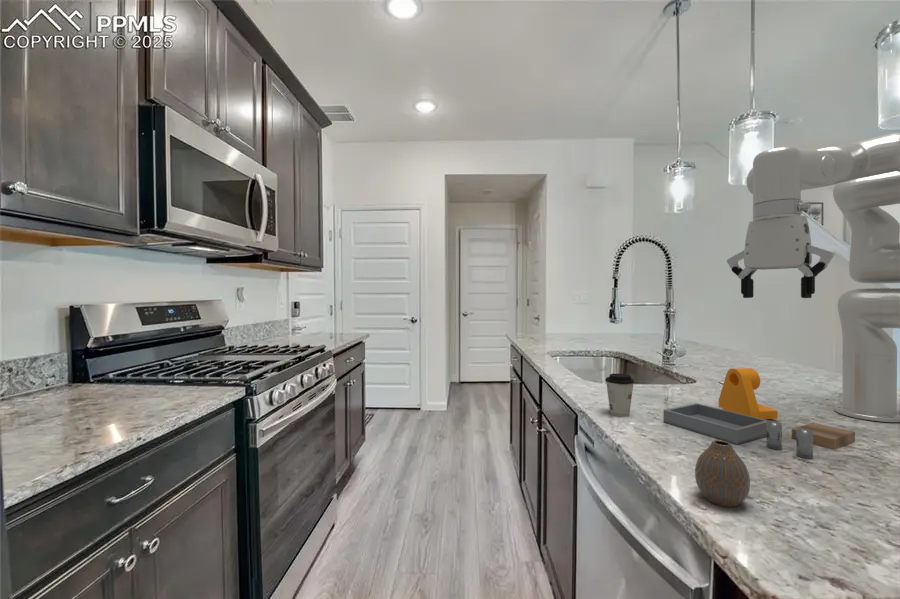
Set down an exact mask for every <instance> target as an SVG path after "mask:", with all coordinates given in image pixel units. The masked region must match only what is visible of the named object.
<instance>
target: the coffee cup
mask: <svg viewBox="0 0 900 599" xmlns="http://www.w3.org/2000/svg"><path fill="white" fill-rule="evenodd" d="M604 381H606V390H607V396H608V397H607V398H608V406H609V413H610V415H612V416H615V417H621V418H622V417H624V418H625V417H629V416H631V415H630V414H631V407H632V406H631V404H632V398H633V390H634V384H635V380H634V379H633V378H632V375H630V374H625V373H610V374H609V376H607V377H606V378H605V380H604Z"/></svg>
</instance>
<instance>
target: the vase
mask: <svg viewBox="0 0 900 599" xmlns="http://www.w3.org/2000/svg"><path fill="white" fill-rule="evenodd" d="M694 478H695V482H696V485H697V488H698V489H699V491H700V493H701V495H703V497H704V498H705V499H707V500H708V501H709V502H710V503H713V504H715V505H717V506H720V507H726V508H734V507H737V506H739V505H741V504H743V502H745V501H746V499H747V498H748V495H749V493H750V491H751V490H750V489H751V478H750V473H749V469H748V468H747V466H746V463H745V462H744V461H743V460H742V458H741V457H740V455H738V453H737V452H736V450H734V447H733V444H732V443H730V442H727V441H723V440H720V439H714V440H712V442H711V443H710V444H709V446H708V447H707V448H705V450H704V451H703V452H702V453H701V454H700V455H699V456H698V458H697V461H696V463H695V468H694Z"/></svg>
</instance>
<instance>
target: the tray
mask: <svg viewBox="0 0 900 599" xmlns="http://www.w3.org/2000/svg"><path fill="white" fill-rule="evenodd" d="M767 421H770V419H761V418H756V417H752V416H748V415H744V414H740V413H736V412H731V411H727V410H725V409H723V408H720V407H715V406H714V407H713V406H710V405H706V404H702V403H697V402H696V403H690V404H685V405H681V406H675V407H671V408H666V409H663V423H664V424H668V425H671V426H676V427H678V428H681V429H683V430H684V429H685V430H688V431H691V432H694V433H698V434H700V435H705V436H708V437H711V438H713V439H716V440H722V441H726V442H729V443H731V444H732V445H733V444H734V445H737V446H738V445H742V444H746V443H748V442H752V441H756V440H758V439H762V438H767Z"/></svg>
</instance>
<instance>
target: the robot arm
mask: <svg viewBox="0 0 900 599" xmlns="http://www.w3.org/2000/svg"><path fill="white" fill-rule="evenodd" d="M830 186H834V187H833V190H832V196H833V200H834V203H835V204H836V206H837V207H838V209H839V210H840V212H841V214H843V216H844V218H845V219H846V221H847V222H848V225H849V227H850V233H851V234H850V249H849V264H848V270H849V276H850V278H851V279H852V280H853V281H854V282H857V283H862V284H900V223H899V220H897V219H896V218H895V217H894V216H893V215H891V214H890V213H889V212H887V211H886V210H884V209H882V208H881V207H884V206H893V205H899V204H900V131H897V132H891V133H888V134H887V133H886V134H883V135H879V136H875V137H870V138H867V139H863V140H860V141H854V142H849V143H844V144H838V145H833V146H831V145H830V146H826V147H822V148H817V149H809V150H808V149H806V150H805V149H804V150H803V149H798V148H796V147H795V146H781V147H774V148H770V149H767V150H766V149H765V150H763V151H762V152H759V153H757V155H756V156H755V157H754V158H753V162H752V168H751V169H750V170H749V172H748V174H747V177H746V187H747V189H748V192H749V193H751V195H752V221H749V223H748V226H747V229H746V234H745V241H744V250H742V251H741V252H739V253H737V254H735V255H733V256H731V257H729V258H728V259H726V263H727V264H728V265H729V268H731V271H732V273H733V274H735V275H736V276H737V277H738V278H739V279H740V293H741V294H742V298H743V299H750V298H751V299H752V298H754V279H753V278H752V277H753V275H754V274H755V273H756V272H757V271H758V270H763V271H764V270H765V271H766V270H785V269H787V270H788V269H789V270H790V269H797V270H798V271H799V272H801V274H802V275H803V276H802V277H801V278H800V298H801V299H812V297H813V296H812V295H814V294H815V292H816V287H815V286H816V278H817V277H818V275H819V274H820V273H821V272H823V271H824V270H825V269H826V268H827V267H828V265H829V264H830V263H831V261H832V259H833V258H834V256H835V253H834V252H833V251H831V250H830V251H829V250H826V249H824V248H821V247H817V246H814V245H812V239H811V231H810V226H809V221H808V218H807V216H806V215H802V214H803V211H805V210H809V209H811V203H810V201H803V200H801V198H802V195H801V192H802V191H805V190H812V189H818V188H824V187H830ZM813 254H814V255H816V256H819V261H818V262H816V263H815V264H814V265H813V266H811V264H812V262H813ZM741 260H743V262H744V268H742V267H740V265H739V262H740V261H741ZM837 312H838V316H839V321H840V326H841V333H842V390H841V391H842V394H841V395H842V403H838V404H835V405H833V410H834V411H835V412H836V413H839V414H840V415H843V416H848V417H851V418H854V419H859V420H865V421H866V420H867V421H873V422H874V421H875V422H882V423H900V411H898V347H897V344H896V342H895V341H894V339H893V338H892V337H891V336H890V335H889V334H888V332H886V331H885V330H884V329H900V288H893V287H891V288H889V287H886V288H885V287H883V288H882V287H879V288H878V287H876V288H875V287H874V288H872V287H871V288H857V289H852V290H848V291H846V292H844V293H842V294H841V295H840V297H838V300H837Z"/></svg>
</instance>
